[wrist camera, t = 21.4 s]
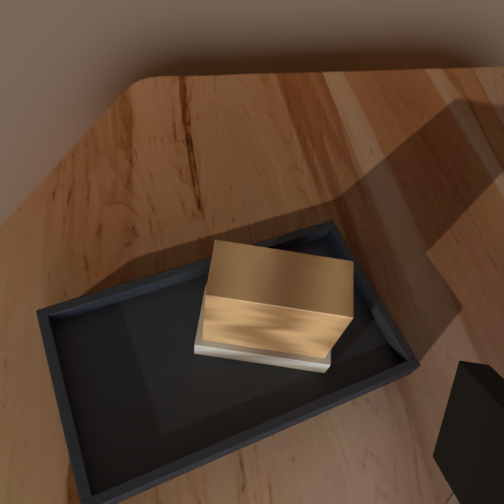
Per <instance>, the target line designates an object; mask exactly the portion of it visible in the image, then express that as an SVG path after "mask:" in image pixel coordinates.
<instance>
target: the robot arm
mask: <svg viewBox="0 0 504 504" xmlns="http://www.w3.org/2000/svg"><path fill="white" fill-rule="evenodd" d="M433 458H434V460H435V461H436V463H437V465H438V467H439V468H440V470H441V472H442V474H443V475H444V477H445V479H446V481H447V482H448V484H449V486H450V487H451V489H452V491H453V493H454V494H455V496H456V498H457V500H458V501H459V503H460V504H504V379H503V378H502V377H501V376H500V375H499V374H498V373H497V372H496V371H495V370H494V369H493V368H492V367H491V366H489V365H485V364H478V363H472V362H465V361H459V364H458V368H457V371H456V375H455V378H454V382H453V386H452V389H451V393H450V396H449V400H448V403H447V407H446V411H445V414H444V418H443V421H442V425H441V428H440V432H439V436H438V439H437V443H436V446H435V450H434V453H433Z"/></svg>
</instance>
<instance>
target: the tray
mask: <svg viewBox="0 0 504 504" xmlns="http://www.w3.org/2000/svg"><path fill="white" fill-rule="evenodd" d="M252 245H254V246H260V247H267V248H273V249H279V250H286V251H292V252H298V253H305V254H311V255H317V256H323V257H330V258H336V259H342V260H349V261H353V262H354V318H353V319H352V321H351V322H350V323H349V325H348V326H347V328H346V329H345V330H344V332H343V333H342V335H341V336H340V337H339V339H338V340H337V342H336V343H335V344H334V346H333V347H332V349H331V366H330V367H329V368H328V369H327V371H326V372H325V373H320V372H314V371H307V370H300V369H294V368H287V367H280V366H274V365H267V364H260V363H254V362H247V361H240V360H234V359H227V358H220V357H214V356H207V355H200V354H195V353H194V344H195V339H196V334H197V328H198V323H199V318H200V312H201V307H202V302H203V297H204V291H205V286H206V285H207V281H208V276H209V270H210V265H211V259H212V257H209V258H206V259H203V260H200V261H196V262H193V263H190V264H187V265H183V266H180V267H177V268H173V269H170V270H167V271H164V272H160V273H157V274H154V275H151V276H147V277H144V278H141V279H137V280H134V281H131V282H128V283H124V284H121V285H118V286H115V287H111V288H108V289H105V290H101V291H98V292H95V293H92V294H88V295H85V296H82V297H79V298H75V299H72V300H69V301H65V302H62V303H59V304H56V305H52V306H49V307H46V308H43V309H39V310H36V313H37V317H38V321H39V326H40V330H41V335H42V339H43V343H44V348H45V352H46V356H47V361H48V365H49V369H50V374H51V378H52V383H53V387H54V391H55V396H56V400H57V404H58V409H59V413H60V418H61V422H62V426H63V431H64V435H65V439H66V444H67V448H68V452H69V457H70V461H71V466H72V470H73V474H74V479H75V483H76V487H77V492H78V496H79V500H80V504H116V503H118V502H120V501H123V500H125V499H127V498H129V497H132V496H134V495H136V494H138V493H141V492H143V491H145V490H148V489H150V488H152V487H154V486H157V485H159V484H161V483H163V482H166V481H168V480H170V479H173V478H175V477H177V476H179V475H182V474H184V473H186V472H189V471H191V470H193V469H195V468H198V467H200V466H202V465H204V464H207V463H209V462H211V461H214V460H216V459H218V458H220V457H223V456H225V455H227V454H229V453H232V452H234V451H236V450H239V449H241V448H243V447H245V446H248V445H250V444H252V443H254V442H257V441H259V440H261V439H264V438H266V437H268V436H270V435H273V434H275V433H277V432H279V431H282V430H284V429H286V428H289V427H291V426H293V425H295V424H298V423H300V422H302V421H304V420H307V419H309V418H311V417H314V416H316V415H318V414H320V413H323V412H325V411H327V410H329V409H332V408H334V407H336V406H339V405H341V404H343V403H345V402H348V401H350V400H352V399H354V398H357V397H359V396H361V395H364V394H366V393H368V392H370V391H373V390H375V389H377V388H379V387H382V386H384V385H386V384H389V383H391V382H393V381H395V380H398V379H400V378H402V377H404V376H407V375H409V374H411V373H412V372H413V371H414V370H416V369H417V368H418V367H419V366H420V364H419V362H418V361H417V359H416V358H414V357H415V356H414V354H413V352H412V351H411V349H410V347H409V346H408V344H407V342H406V341H405V339H404V338H403V336H402V334H401V333H400V331H399V329H398V328H397V326H396V324H395V323H394V321H393V319H392V318H391V316H390V314H389V313H388V311H387V309H386V308H385V306H384V304H383V303H382V301H381V299H380V298H379V296H378V295H377V293H376V291H375V290H374V288H373V286H372V285H371V283H370V281H369V280H368V278H367V276H366V275H365V273H364V271H363V270H362V268H361V266H360V265H359V263H358V261H357V260H356V258H355V257H354V255H353V253H352V252H351V250H350V248H349V247H348V245H347V243H346V242H345V240H344V238H343V237H342V235H341V233H340V232H339V230H338V228H337V227H336V225H335V223H334V221H333V220H330V221H327V222H324V223H321V224H317V225H314V226H311V227H308V228H304V229H301V230H298V231H294V232H291V233H288V234H285V235H281V236H278V237H275V238H272V239H268V240H265V241H262V242H258V243H255V244H252Z"/></svg>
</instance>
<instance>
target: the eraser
mask: <svg viewBox="0 0 504 504" xmlns="http://www.w3.org/2000/svg"><path fill="white" fill-rule="evenodd" d="M353 318H354V262H353V261H349V260H342V259H336V258H330V257H323V256H317V255H311V254H305V253H298V252H292V251H286V250H279V249H273V248H267V247H260V246H254V245H248V244H242V243H235V242H229V241H223V240H215V243H214V249H213V254H212V259H211V265H210V270H209V276H208V281H207V285H206V286H205V291H204V297H203V302H202V307H201V312H200V318H199V323H198V328H197V334H196V339H195V344H194V353H195V354H200V355H207V356H214V357H220V358H227V359H234V360H240V361H247V362H254V363H260V364H267V365H274V366H280V367H287V368H294V369H300V370H307V371H314V372H320V373H325V372H326V371H327V369H328V368H329V367H330V366H331V349H332V347H333V346H334V344H335V343H336V342H337V340H338V339H339V337H340V336H341V335H342V333H343V332H344V330H345V329H346V328H347V326H348V325H349V323H350V322H351V321H352V319H353Z"/></svg>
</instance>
